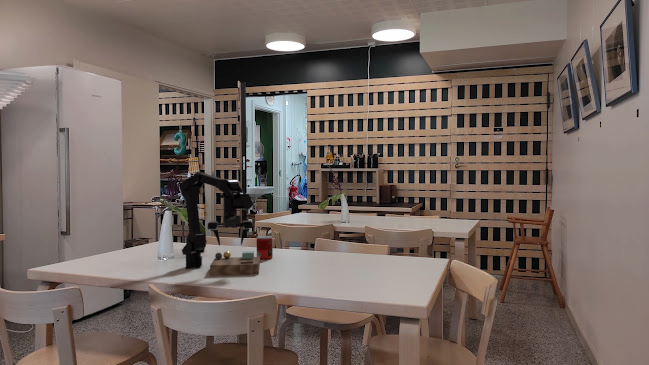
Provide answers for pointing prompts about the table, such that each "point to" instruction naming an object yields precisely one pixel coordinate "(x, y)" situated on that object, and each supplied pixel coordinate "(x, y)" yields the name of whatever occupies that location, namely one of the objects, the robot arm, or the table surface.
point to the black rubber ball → (218, 255)
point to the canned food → (264, 247)
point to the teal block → (248, 255)
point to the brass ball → (226, 254)
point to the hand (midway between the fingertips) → (230, 245)
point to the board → (234, 266)
